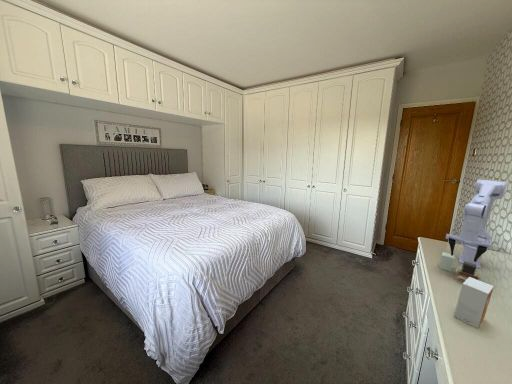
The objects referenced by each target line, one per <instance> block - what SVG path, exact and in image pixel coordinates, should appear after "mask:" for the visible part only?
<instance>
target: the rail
mask: <svg viewBox="0 0 512 384" xmlns="http://www.w3.org/2000/svg"><path fill="white" fill-rule="evenodd" d="M476 268H477V267H476V264H474V263H470V262H467V261H464V262H463V263H462V267H461V268H460V267H457V266H456V268H455V280H454V281H455V283H458V284H463V283H464V282H465V280H466V279H468V278H469V277H471V278H474V279H476V280H479V281H482V280H481V277H480V274H479V273H476Z"/></svg>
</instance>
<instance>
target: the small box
mask: <svg viewBox="0 0 512 384" xmlns="http://www.w3.org/2000/svg"><path fill="white" fill-rule="evenodd" d="M494 287H495V286H494V285H492V284H489V283H487V282H484V281H482V280H481V281H479V280H476V279H474V278H471V277H469V278H468V279H466V280H465V282H464V283H463V284H462V285H461V287H460V292H459V295H458V299H457V303H456V307H455V311H454V313H453V317H454V318H457V319H458V320H460V321H463V322H464V323H466V324H469V326H472V327H474V328H477V329H479V328H480V326H481V324H482V323H483V321H484V320H485V318H486V313H487V310H488V307H489V305H490V300H491V298H492V294H493V291H494Z"/></svg>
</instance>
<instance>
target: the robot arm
mask: <svg viewBox="0 0 512 384" xmlns="http://www.w3.org/2000/svg"><path fill="white" fill-rule="evenodd" d="M506 188H507V181H498V180H489V179H487V180H486V179H481V178H479V179H477V180H476V182H475V185H474V193H475V194H474V196H473V197H472V199H471V200H470V202H469V203H468V202H467V203H466V204H465V206H464V209H463V217H462V218H463V222H462V224H461V228H460V234H459V235H458V234H457V235H456V234H450V233H446V235H445V239H446V240H448V244H449V248H450V254H451V255H452V256H453V255H454V250H455V247H456V246H455V245H456V243H457V242H460V243H461V244H462V246H463V248H462V250H461V251H462V252H461V255H459V259H458V261H459V262H458V263H461V264H463V262H464V261H467V262H470V263H474V264H476V268H478V269H481V268H482V267H481V266H482V265H481V261H482V256H483V255H484V253H486V252H487V251H488V250H491V249H492V243H491V240H492V239H491V238H492V236H491V234H490V233H488V231H486V227H487V224H488V222H489V218H490V214H491V211H492V208H493V206H494V205H493V204H494V203H495V202H496V200H500V199H501V200H502V198H503V197H504V194H505V191H506Z"/></svg>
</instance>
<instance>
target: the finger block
mask: <svg viewBox="0 0 512 384" xmlns="http://www.w3.org/2000/svg"><path fill="white" fill-rule="evenodd" d="M454 261H455V254H453V256H452V255H451V253H449V252H444V251H443V252H442V254H441V257H440V262H439V266H438V268H439V269H442V270H445V271H447V272H450V273H451V272H452V269H453V265H454Z"/></svg>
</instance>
